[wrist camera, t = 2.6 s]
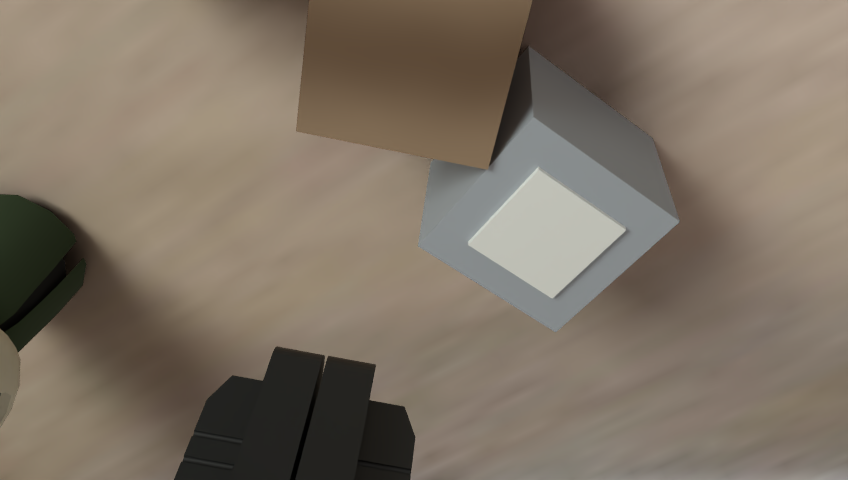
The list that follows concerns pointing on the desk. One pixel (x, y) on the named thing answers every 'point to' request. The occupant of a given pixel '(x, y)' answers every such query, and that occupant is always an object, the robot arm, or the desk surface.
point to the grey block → (550, 198)
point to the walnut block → (411, 74)
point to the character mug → (29, 282)
